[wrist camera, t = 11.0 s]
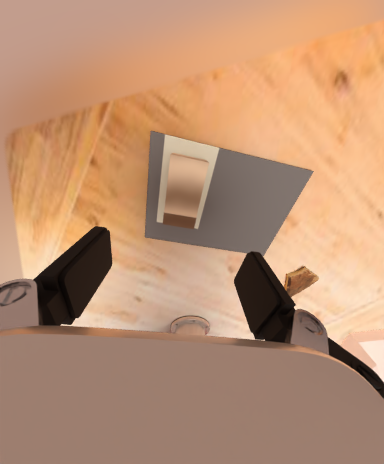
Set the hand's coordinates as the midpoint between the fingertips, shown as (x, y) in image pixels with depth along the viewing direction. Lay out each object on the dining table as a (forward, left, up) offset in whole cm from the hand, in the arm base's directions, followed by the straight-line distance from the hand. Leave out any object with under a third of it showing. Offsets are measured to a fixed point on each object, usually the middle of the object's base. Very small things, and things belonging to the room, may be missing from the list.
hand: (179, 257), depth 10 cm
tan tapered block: (0, 0, -17) cm, 17 cm away
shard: (-18, -34, -18) cm, 43 cm away
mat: (-2, -7, -18) cm, 19 cm away
